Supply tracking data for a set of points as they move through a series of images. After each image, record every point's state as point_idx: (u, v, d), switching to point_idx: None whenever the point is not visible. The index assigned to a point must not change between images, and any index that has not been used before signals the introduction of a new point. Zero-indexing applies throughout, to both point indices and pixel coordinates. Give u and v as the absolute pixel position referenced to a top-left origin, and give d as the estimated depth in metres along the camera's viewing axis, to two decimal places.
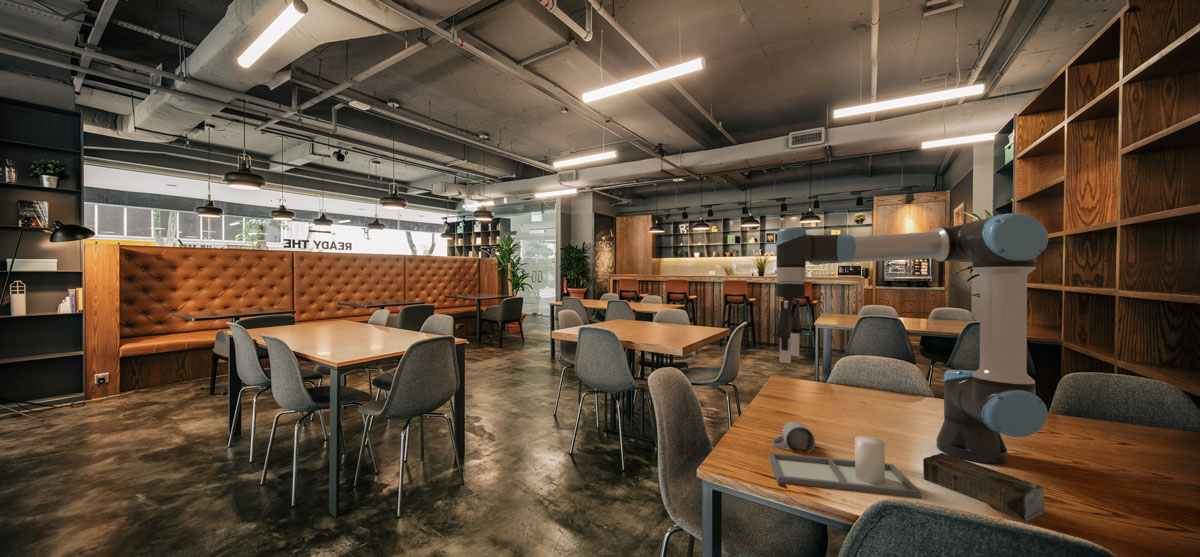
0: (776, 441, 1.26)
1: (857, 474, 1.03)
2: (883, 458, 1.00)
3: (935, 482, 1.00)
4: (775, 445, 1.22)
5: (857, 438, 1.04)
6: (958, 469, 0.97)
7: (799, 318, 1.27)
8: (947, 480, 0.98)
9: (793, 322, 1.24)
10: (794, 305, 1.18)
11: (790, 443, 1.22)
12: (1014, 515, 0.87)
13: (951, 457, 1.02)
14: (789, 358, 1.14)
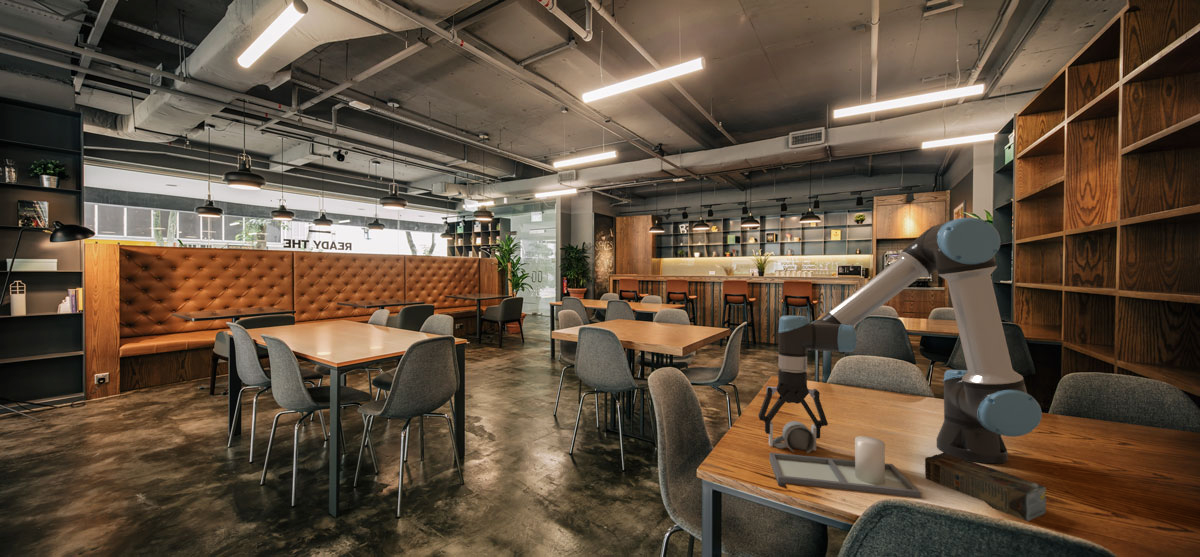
0: (776, 441, 1.26)
1: (857, 474, 1.03)
2: (883, 458, 1.00)
3: (937, 482, 1.00)
4: (775, 445, 1.22)
5: (857, 438, 1.04)
6: (960, 469, 0.97)
7: (821, 411, 1.20)
8: (949, 479, 0.98)
9: (807, 412, 1.22)
10: (786, 392, 1.22)
11: (790, 443, 1.21)
12: (1015, 515, 0.88)
13: (953, 457, 1.02)
14: (770, 442, 1.23)
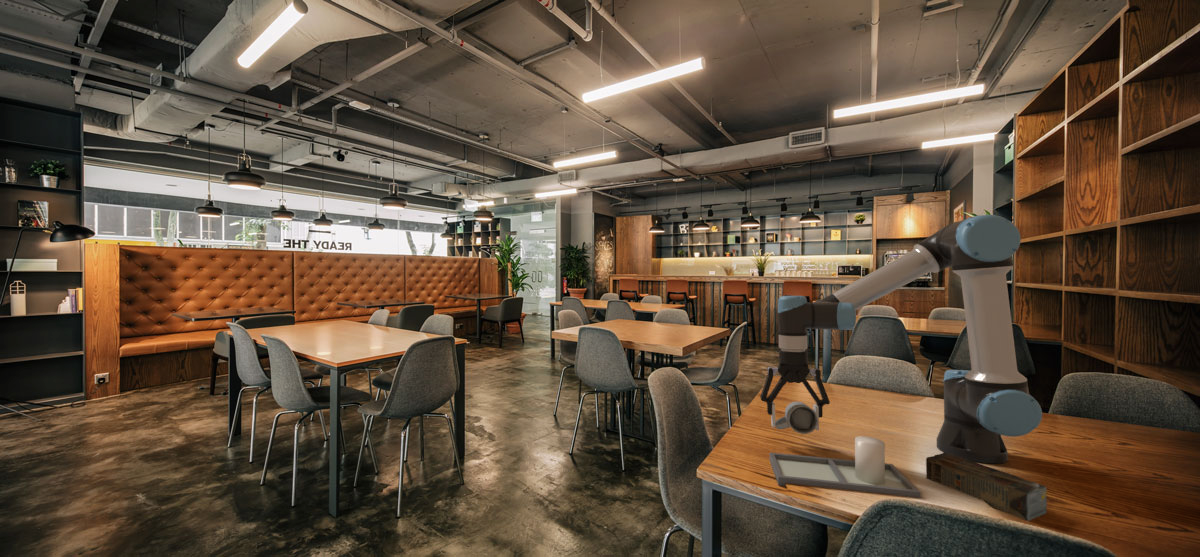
0: (779, 422, 1.26)
1: (857, 474, 1.03)
2: (883, 458, 1.00)
3: (938, 481, 1.01)
4: (778, 425, 1.22)
5: (857, 438, 1.04)
6: (961, 468, 0.97)
7: (823, 390, 1.20)
8: (950, 479, 0.98)
9: (809, 391, 1.22)
10: (787, 372, 1.22)
11: (793, 423, 1.21)
12: (1016, 514, 0.88)
13: (954, 457, 1.02)
14: (772, 422, 1.23)
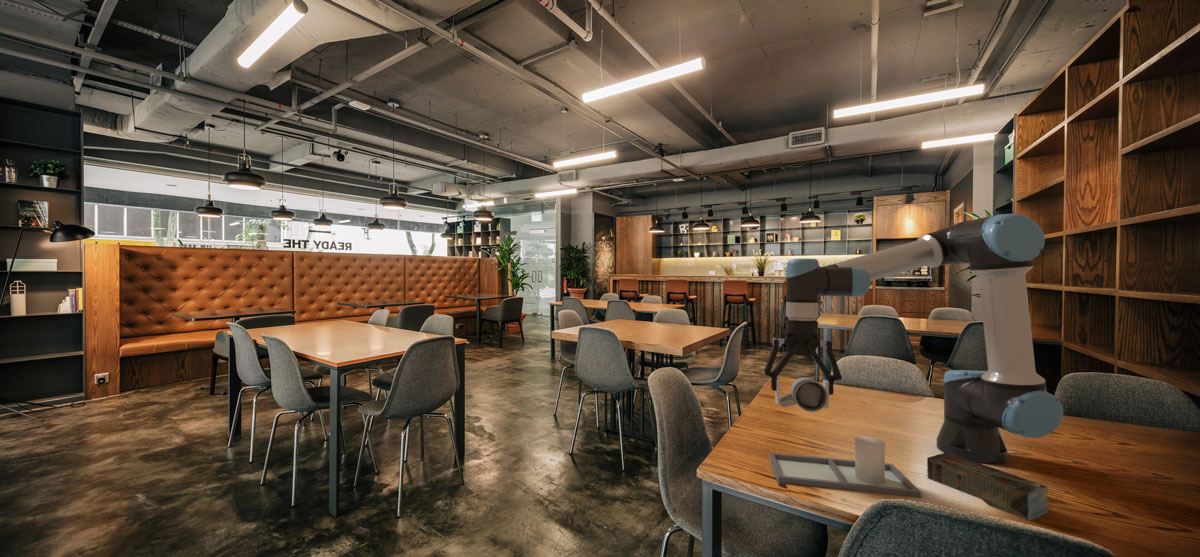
0: (784, 399, 1.13)
1: (857, 474, 1.03)
2: (883, 458, 1.00)
3: (939, 481, 1.01)
4: (783, 402, 1.10)
5: (857, 438, 1.04)
6: (962, 468, 0.97)
7: (835, 364, 1.07)
8: (951, 479, 0.98)
9: (818, 366, 1.09)
10: (794, 343, 1.09)
11: (799, 400, 1.09)
12: (1017, 514, 0.88)
13: (955, 456, 1.03)
14: (776, 399, 1.11)
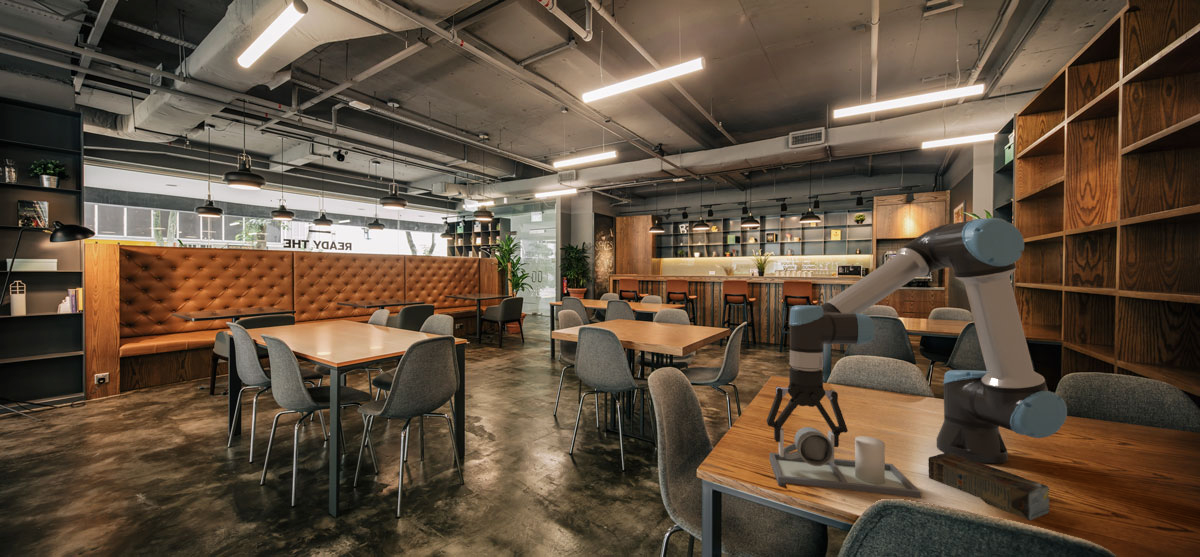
0: (788, 450, 1.09)
1: (857, 474, 1.03)
2: (883, 458, 1.00)
3: (940, 481, 1.01)
4: (787, 455, 1.06)
5: (857, 438, 1.04)
6: (963, 468, 0.97)
7: (840, 416, 1.03)
8: (952, 479, 0.98)
9: (823, 417, 1.05)
10: (798, 393, 1.05)
11: (804, 452, 1.05)
12: (1018, 514, 0.88)
13: (956, 456, 1.03)
14: (780, 451, 1.07)
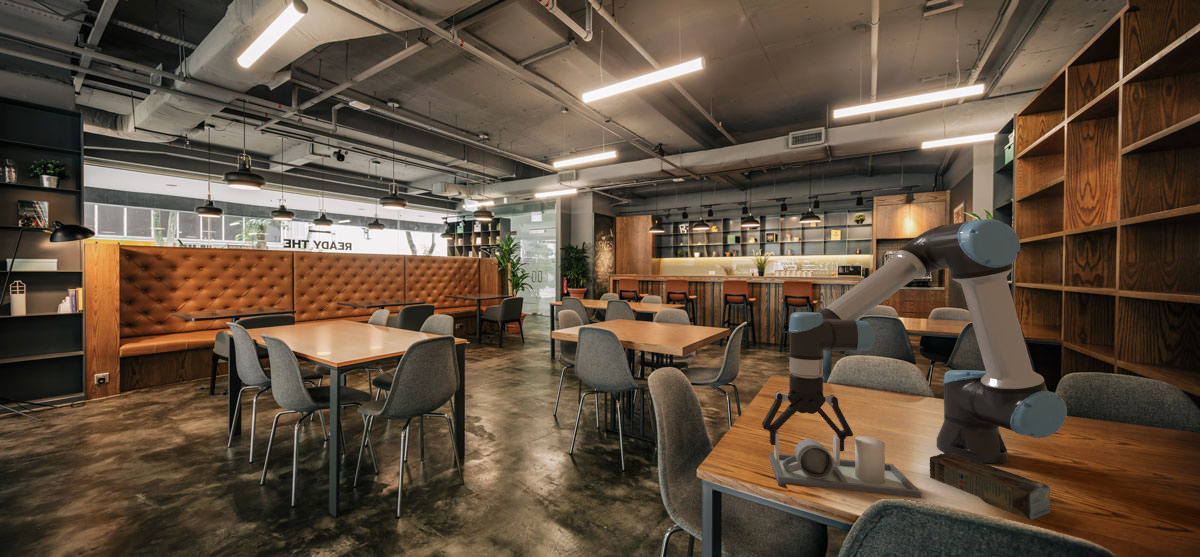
0: (788, 462, 1.09)
1: (857, 474, 1.03)
2: (883, 458, 1.00)
3: (941, 480, 1.01)
4: (787, 467, 1.06)
5: (857, 438, 1.04)
6: (964, 468, 0.97)
7: (843, 421, 1.03)
8: (953, 478, 0.99)
9: (827, 422, 1.05)
10: (798, 400, 1.05)
11: (804, 465, 1.05)
12: (1019, 513, 0.88)
13: (958, 456, 1.03)
14: (776, 454, 1.07)
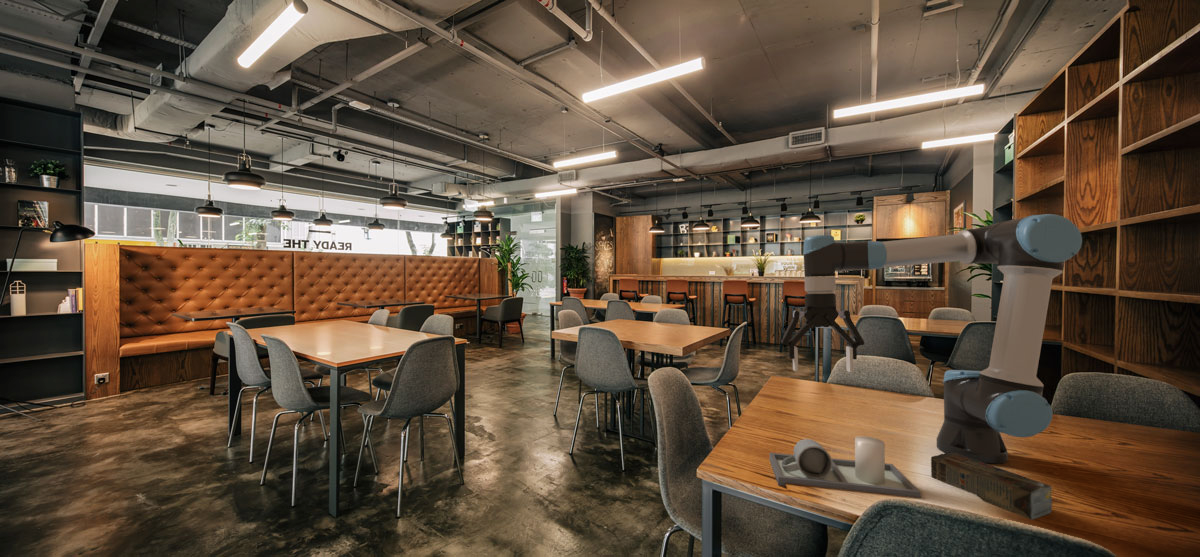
0: (787, 461, 1.09)
1: (857, 474, 1.03)
2: (883, 458, 1.00)
3: (943, 480, 1.01)
4: (785, 467, 1.06)
5: (857, 438, 1.04)
6: (965, 467, 0.97)
7: (855, 331, 1.14)
8: (954, 478, 0.99)
9: (840, 334, 1.15)
10: (814, 315, 1.16)
11: (802, 465, 1.05)
12: (1020, 513, 0.88)
13: (959, 456, 1.03)
14: (795, 366, 1.17)
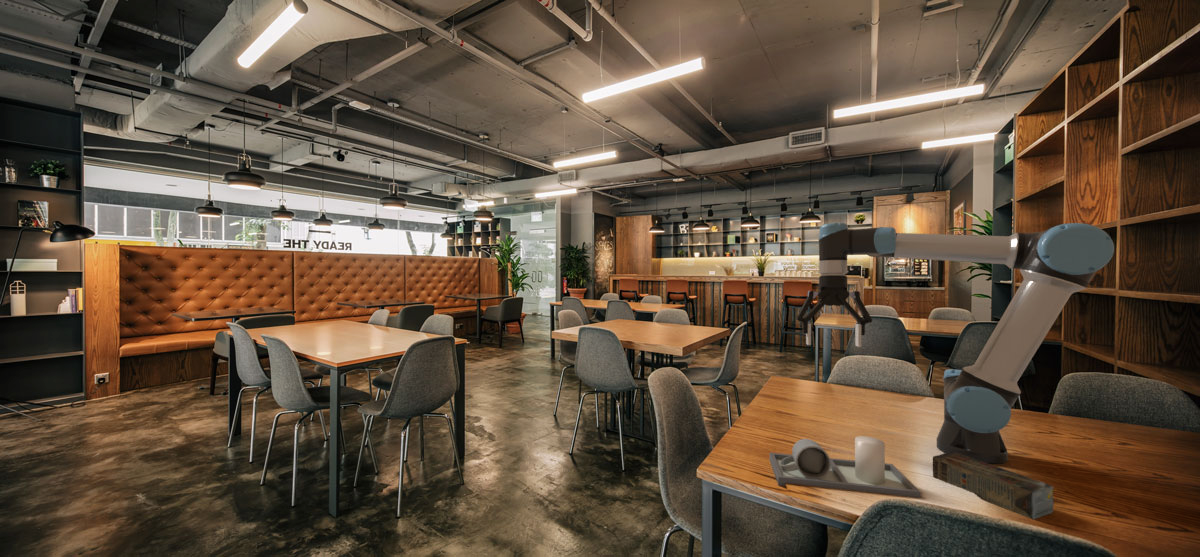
0: (785, 461, 1.09)
1: (857, 474, 1.03)
2: (883, 458, 1.00)
3: (944, 480, 1.01)
4: (784, 467, 1.06)
5: (857, 438, 1.04)
6: (967, 467, 0.98)
7: (864, 310, 1.26)
8: (956, 478, 0.99)
9: (850, 313, 1.28)
10: (827, 295, 1.29)
11: (801, 465, 1.05)
12: (1021, 513, 0.88)
13: (961, 456, 1.03)
14: (808, 341, 1.30)
